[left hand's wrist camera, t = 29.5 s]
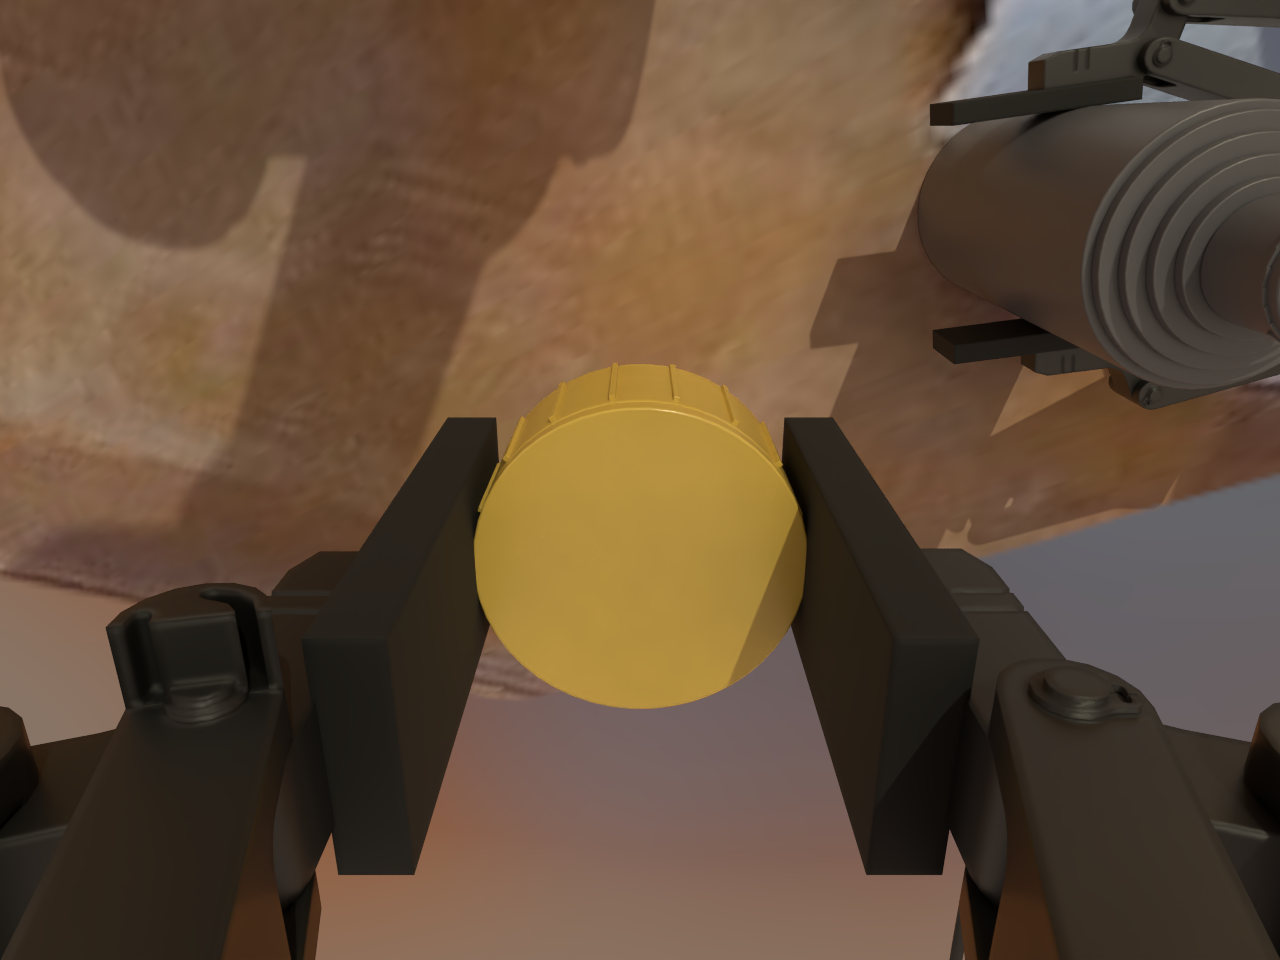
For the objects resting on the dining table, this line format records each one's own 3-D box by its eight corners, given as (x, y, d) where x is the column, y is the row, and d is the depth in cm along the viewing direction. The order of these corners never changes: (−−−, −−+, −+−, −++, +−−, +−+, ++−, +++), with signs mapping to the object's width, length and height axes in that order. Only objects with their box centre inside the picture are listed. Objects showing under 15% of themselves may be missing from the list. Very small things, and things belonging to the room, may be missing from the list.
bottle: (1052, 313, 42) (1411, 477, 22) (891, 269, 41) (1118, 399, 21) (1128, 136, 39) (1615, 148, 19) (957, 86, 38) (1286, 46, 19)
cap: (594, 298, 13) (585, 332, 11) (846, 461, 14) (883, 522, 12) (442, 539, 15) (408, 611, 12) (680, 672, 16) (686, 762, 13)
